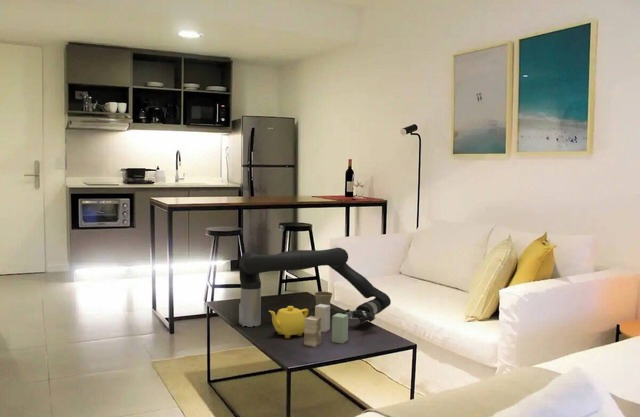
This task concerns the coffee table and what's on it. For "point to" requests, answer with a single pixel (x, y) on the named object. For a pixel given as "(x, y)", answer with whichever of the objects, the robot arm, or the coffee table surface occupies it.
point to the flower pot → (323, 298)
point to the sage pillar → (340, 328)
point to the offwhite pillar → (323, 316)
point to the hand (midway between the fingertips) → (351, 319)
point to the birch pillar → (312, 331)
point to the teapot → (289, 321)
